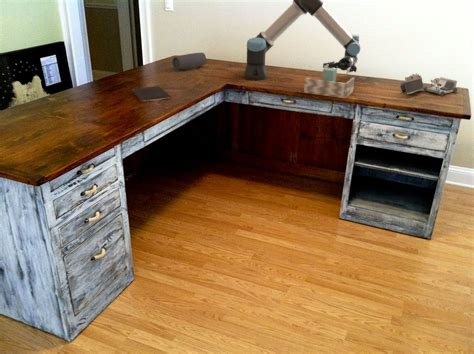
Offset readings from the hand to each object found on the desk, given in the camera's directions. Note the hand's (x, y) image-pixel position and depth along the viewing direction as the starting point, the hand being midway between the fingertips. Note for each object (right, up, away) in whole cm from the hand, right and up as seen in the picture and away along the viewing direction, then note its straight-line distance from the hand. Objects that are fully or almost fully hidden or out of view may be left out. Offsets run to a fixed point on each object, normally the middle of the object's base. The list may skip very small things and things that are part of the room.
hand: (335, 70), depth 253 cm
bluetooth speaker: (-90, +12, +46) cm, 101 cm away
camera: (+42, -13, -2) cm, 44 cm away
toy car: (+59, -14, -1) cm, 61 cm away
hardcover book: (-105, -18, -12) cm, 107 cm away
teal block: (-6, -13, -5) cm, 15 cm away
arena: (-5, -13, -3) cm, 14 cm away
